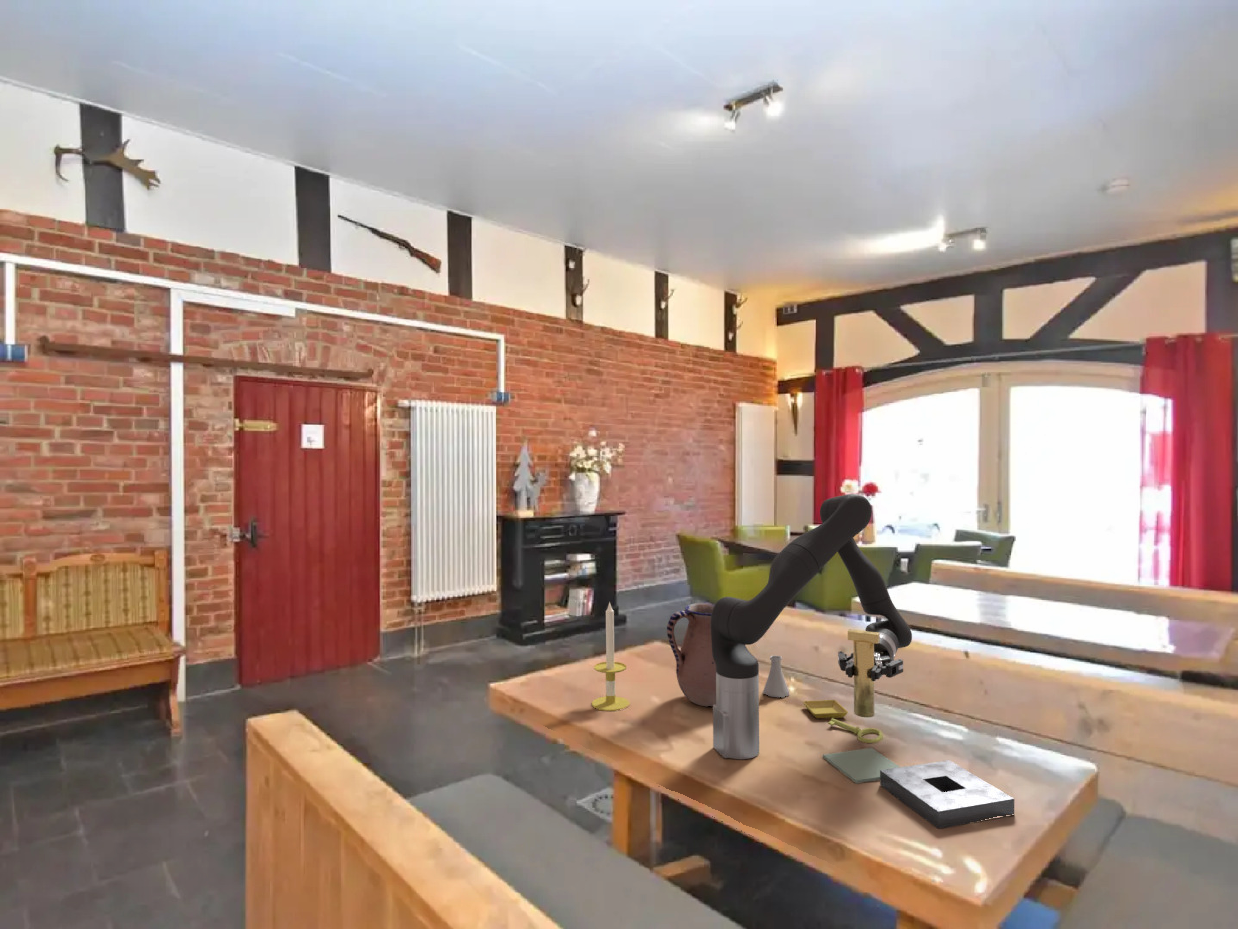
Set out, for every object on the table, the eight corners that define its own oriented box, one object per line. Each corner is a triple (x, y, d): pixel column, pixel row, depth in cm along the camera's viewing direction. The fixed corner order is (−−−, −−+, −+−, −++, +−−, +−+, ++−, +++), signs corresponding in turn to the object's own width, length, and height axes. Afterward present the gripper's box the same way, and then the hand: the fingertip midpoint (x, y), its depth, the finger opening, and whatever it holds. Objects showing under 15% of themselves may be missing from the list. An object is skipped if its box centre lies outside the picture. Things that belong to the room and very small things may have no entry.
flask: (785, 700, 179) (784, 662, 179) (758, 695, 183) (758, 658, 183) (793, 692, 185) (793, 655, 185) (767, 687, 189) (767, 651, 189)
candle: (626, 712, 172) (625, 606, 171) (587, 710, 173) (586, 605, 173) (632, 698, 181) (631, 597, 181) (596, 696, 183) (594, 596, 183)
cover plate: (938, 829, 117) (938, 811, 117) (880, 785, 132) (880, 770, 132) (1014, 815, 121) (1014, 798, 121) (949, 775, 136) (949, 760, 136)
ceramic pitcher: (758, 704, 176) (757, 608, 176) (696, 722, 164) (695, 619, 164) (712, 685, 191) (711, 596, 190) (652, 701, 179) (651, 607, 179)
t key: (847, 714, 140) (846, 632, 140) (851, 708, 144) (850, 628, 144) (877, 719, 137) (877, 636, 137) (881, 713, 141) (880, 631, 140)
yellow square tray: (814, 722, 165) (814, 713, 165) (802, 708, 174) (802, 700, 174) (848, 720, 166) (848, 712, 166) (835, 707, 174) (835, 699, 174)
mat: (856, 783, 133) (856, 780, 133) (822, 757, 145) (822, 754, 145) (908, 775, 136) (908, 772, 136) (871, 750, 148) (871, 748, 148)
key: (830, 726, 163) (830, 717, 163) (884, 735, 157) (884, 726, 157) (823, 737, 156) (823, 728, 156) (880, 747, 151) (880, 738, 151)
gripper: (843, 632, 156) (825, 651, 141) (910, 639, 149) (898, 661, 134) (843, 664, 156) (825, 687, 142) (910, 673, 149) (898, 698, 134)
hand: (861, 674), depth 138 cm, fingers closed on t key, 4 cm apart
